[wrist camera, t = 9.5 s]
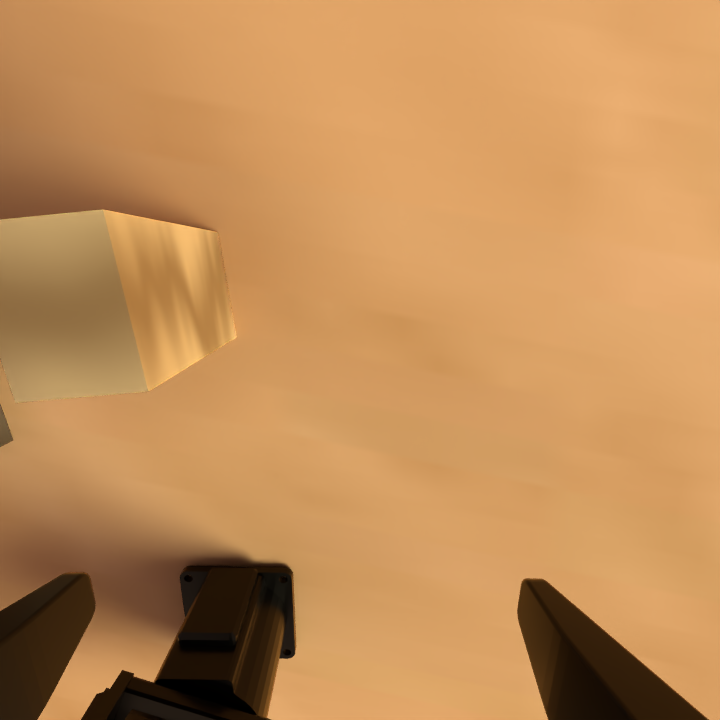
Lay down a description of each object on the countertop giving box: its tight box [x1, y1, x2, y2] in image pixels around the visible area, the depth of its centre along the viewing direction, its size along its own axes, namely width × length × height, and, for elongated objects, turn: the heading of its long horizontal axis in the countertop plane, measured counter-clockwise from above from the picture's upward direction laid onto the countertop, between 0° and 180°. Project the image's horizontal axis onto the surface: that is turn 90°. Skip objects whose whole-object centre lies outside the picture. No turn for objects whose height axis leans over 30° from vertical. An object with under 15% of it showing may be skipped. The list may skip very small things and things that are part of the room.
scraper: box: [0, 209, 237, 447], centre depth 14 cm, size 14×15×8 cm
